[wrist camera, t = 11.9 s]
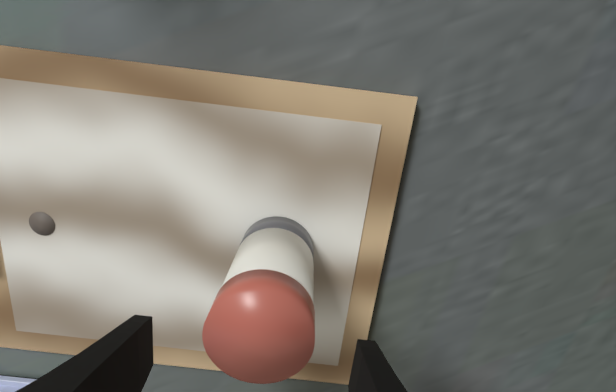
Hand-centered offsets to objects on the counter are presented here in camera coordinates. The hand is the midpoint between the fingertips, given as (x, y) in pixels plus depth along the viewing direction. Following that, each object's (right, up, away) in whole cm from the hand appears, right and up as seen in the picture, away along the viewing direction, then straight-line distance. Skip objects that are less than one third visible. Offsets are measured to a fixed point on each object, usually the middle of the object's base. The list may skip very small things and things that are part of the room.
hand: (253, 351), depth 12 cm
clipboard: (-6, +3, +8) cm, 10 cm away
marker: (0, +2, +7) cm, 8 cm away
